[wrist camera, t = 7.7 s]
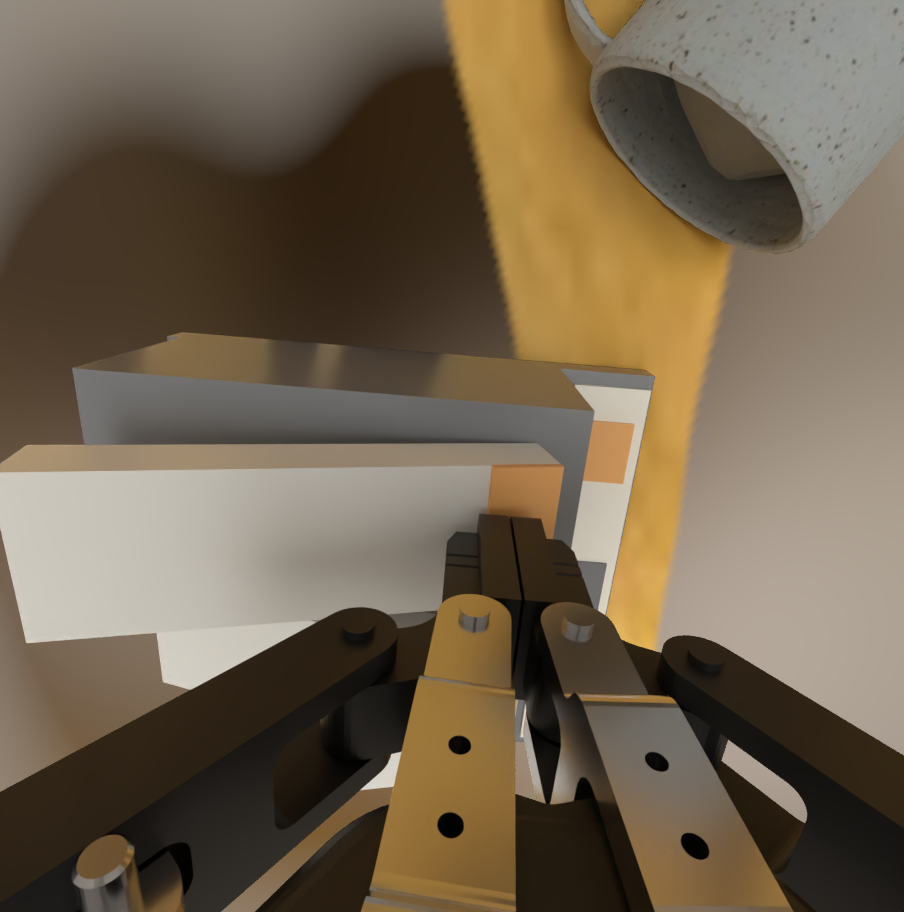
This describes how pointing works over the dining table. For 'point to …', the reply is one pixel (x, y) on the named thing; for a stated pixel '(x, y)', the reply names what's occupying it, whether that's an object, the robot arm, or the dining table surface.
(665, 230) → the dining table surface
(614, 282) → the dining table surface
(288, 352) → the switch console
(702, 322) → the dining table surface
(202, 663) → the middle rocker
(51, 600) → the front rocker
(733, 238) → the ceramic mug
